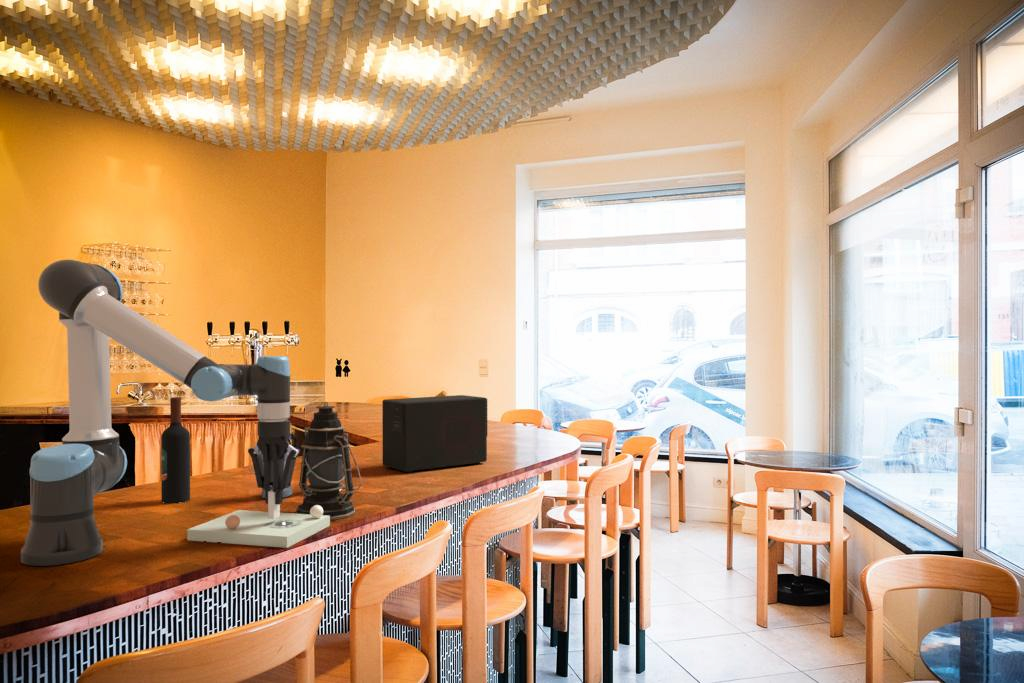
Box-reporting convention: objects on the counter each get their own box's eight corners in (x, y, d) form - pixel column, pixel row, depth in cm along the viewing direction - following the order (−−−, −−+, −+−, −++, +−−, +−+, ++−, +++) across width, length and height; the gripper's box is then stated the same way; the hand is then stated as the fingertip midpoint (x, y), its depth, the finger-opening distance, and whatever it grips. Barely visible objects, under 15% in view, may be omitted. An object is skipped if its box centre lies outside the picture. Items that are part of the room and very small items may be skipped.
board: (287, 547, 164) (287, 536, 164) (187, 540, 170) (187, 529, 170) (329, 525, 183) (329, 515, 183) (238, 519, 190) (238, 509, 190)
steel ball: (272, 537, 174) (286, 537, 175) (272, 527, 173) (286, 527, 173) (275, 527, 177) (288, 528, 178) (274, 517, 176) (288, 518, 176)
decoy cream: (319, 520, 179) (319, 507, 179) (307, 519, 180) (307, 506, 180) (325, 516, 182) (325, 504, 182) (314, 516, 183) (314, 503, 183)
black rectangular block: (463, 456, 290) (463, 394, 290) (491, 463, 275) (491, 397, 275) (377, 466, 268) (377, 398, 268) (403, 474, 252) (403, 402, 252)
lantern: (276, 515, 194) (276, 402, 194) (321, 503, 208) (321, 398, 208) (330, 525, 184) (330, 406, 184) (374, 512, 197) (374, 401, 197)
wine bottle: (179, 504, 207) (178, 398, 207) (155, 503, 209) (155, 398, 208) (195, 498, 214) (195, 396, 214) (172, 497, 216) (172, 396, 216)
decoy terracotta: (234, 531, 169) (234, 517, 169) (222, 530, 170) (222, 516, 169) (242, 527, 172) (242, 514, 172) (230, 526, 173) (230, 513, 173)
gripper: (306, 418, 178) (306, 515, 178) (258, 417, 181) (259, 512, 181) (289, 422, 171) (290, 522, 171) (240, 420, 174) (240, 519, 174)
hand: (274, 517), depth 176 cm, fingers closed
